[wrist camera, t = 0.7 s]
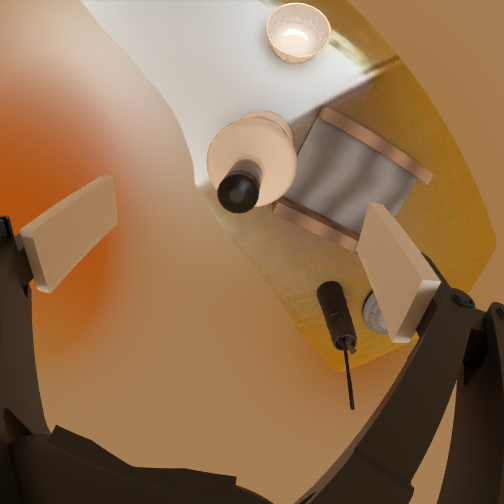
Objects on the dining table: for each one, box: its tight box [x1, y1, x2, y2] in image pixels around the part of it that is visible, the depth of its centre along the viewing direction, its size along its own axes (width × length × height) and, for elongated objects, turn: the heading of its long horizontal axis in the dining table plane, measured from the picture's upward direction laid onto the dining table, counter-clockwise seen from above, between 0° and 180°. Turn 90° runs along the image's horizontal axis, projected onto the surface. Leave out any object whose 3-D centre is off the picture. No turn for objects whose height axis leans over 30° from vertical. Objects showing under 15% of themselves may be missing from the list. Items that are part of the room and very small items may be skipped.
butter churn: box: [317, 281, 357, 410], centre depth 44 cm, size 9×10×28 cm
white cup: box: [266, 3, 331, 63], centre depth 32 cm, size 8×8×10 cm
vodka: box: [207, 111, 297, 214], centre depth 31 cm, size 9×9×30 cm
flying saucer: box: [363, 292, 389, 334], centre depth 55 cm, size 15×15×6 cm
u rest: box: [272, 106, 434, 254], centre depth 44 cm, size 20×18×5 cm
